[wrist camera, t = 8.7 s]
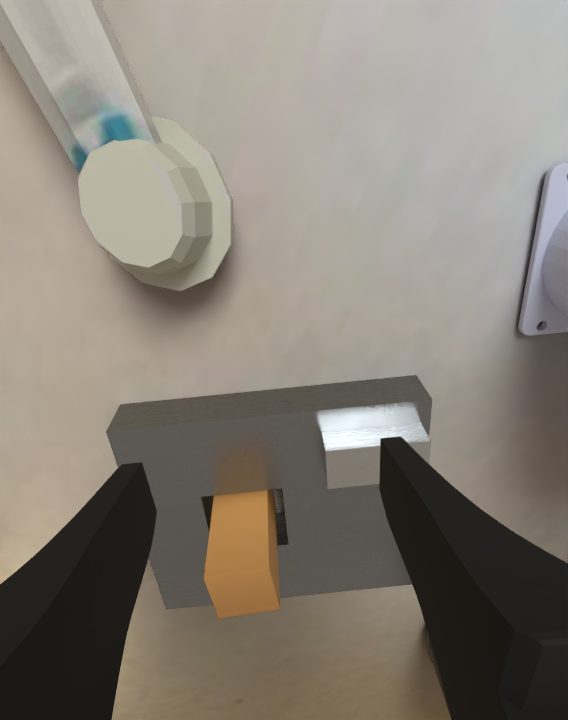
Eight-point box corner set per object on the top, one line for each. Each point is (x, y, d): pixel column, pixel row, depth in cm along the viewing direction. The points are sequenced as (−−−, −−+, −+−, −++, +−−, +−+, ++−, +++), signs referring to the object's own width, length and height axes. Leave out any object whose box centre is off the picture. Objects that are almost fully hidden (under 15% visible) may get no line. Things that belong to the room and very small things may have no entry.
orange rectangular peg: (266, 464, 26) (269, 568, 19) (275, 500, 27) (280, 609, 21) (216, 472, 26) (203, 578, 20) (227, 508, 27) (219, 618, 21)
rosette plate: (416, 375, 23) (443, 417, 20) (404, 551, 30) (423, 606, 26) (120, 404, 23) (95, 451, 20) (172, 575, 30) (161, 633, 26)
